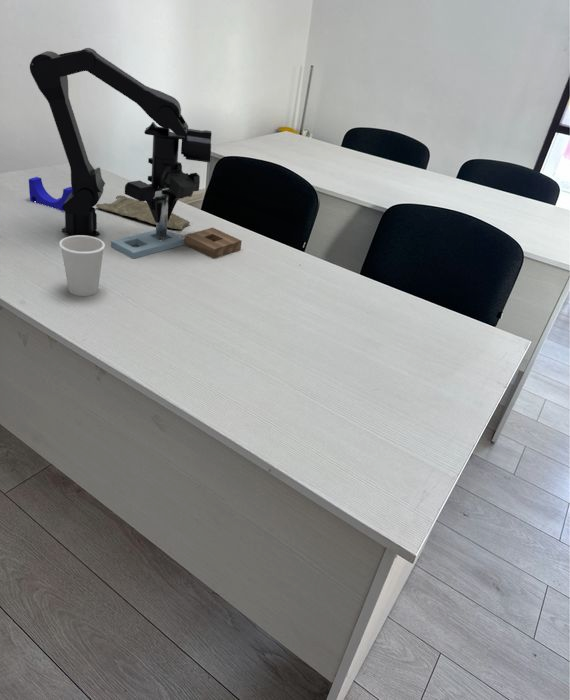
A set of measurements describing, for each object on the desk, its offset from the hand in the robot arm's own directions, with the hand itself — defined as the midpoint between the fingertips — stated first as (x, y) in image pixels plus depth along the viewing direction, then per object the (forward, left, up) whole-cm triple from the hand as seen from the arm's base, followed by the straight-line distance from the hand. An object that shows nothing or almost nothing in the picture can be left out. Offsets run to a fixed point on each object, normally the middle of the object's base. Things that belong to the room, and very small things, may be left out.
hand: (161, 221), depth 141 cm
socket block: (+9, -9, -5) cm, 14 cm away
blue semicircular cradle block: (-7, +33, -6) cm, 34 cm away
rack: (-4, 0, -5) cm, 7 cm away
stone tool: (+9, +15, -6) cm, 19 cm away
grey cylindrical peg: (0, 0, -4) cm, 4 cm away
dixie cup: (-30, -10, -6) cm, 32 cm away
